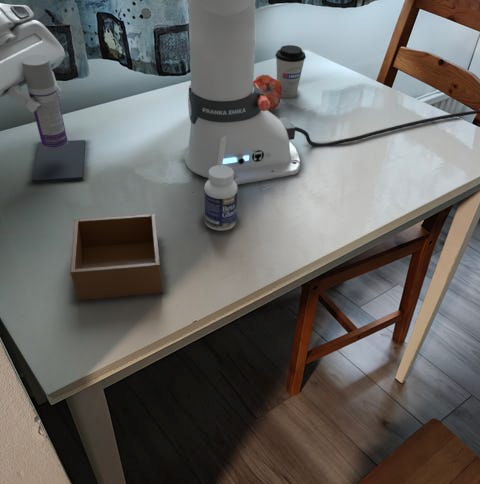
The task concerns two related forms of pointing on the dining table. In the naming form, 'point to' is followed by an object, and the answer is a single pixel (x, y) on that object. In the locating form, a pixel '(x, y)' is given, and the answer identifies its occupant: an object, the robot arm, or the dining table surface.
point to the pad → (60, 163)
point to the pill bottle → (220, 198)
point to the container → (45, 101)
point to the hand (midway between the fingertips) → (48, 102)
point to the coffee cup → (289, 69)
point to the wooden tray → (115, 257)
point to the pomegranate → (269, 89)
